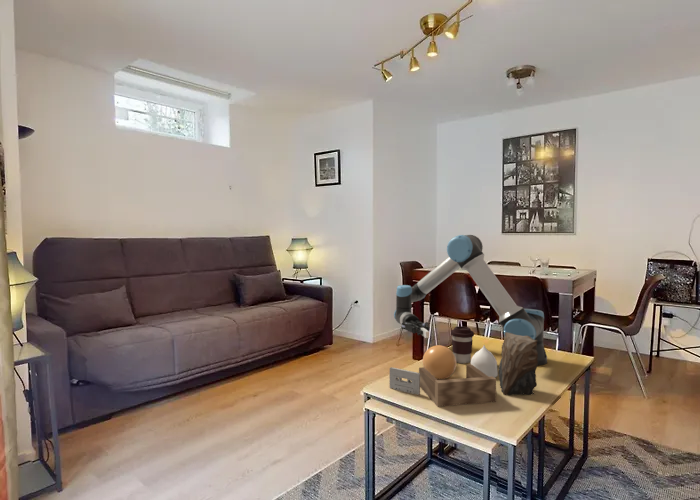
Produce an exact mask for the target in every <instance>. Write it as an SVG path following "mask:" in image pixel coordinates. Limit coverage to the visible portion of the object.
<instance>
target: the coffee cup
mask: <svg viewBox="0 0 700 500" xmlns="http://www.w3.org/2000/svg"><path fill="white" fill-rule="evenodd" d="M450 335H451V345H452V346H451V347H452V350H451V351H452V352H453V354H454V355H455V358H456V364H457V363H458V364H470V363H471V359H472V351H473V337H474V336H475V332H474V331H473V330H471V328H470V327H468V326H460V325H458V326H455V327H454V328H453V329H452V330H450Z"/></svg>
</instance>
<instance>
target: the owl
mask: <svg viewBox="0 0 700 500" xmlns="http://www.w3.org/2000/svg"><path fill="white" fill-rule="evenodd" d="M537 343H538V341H537V340H534V339H532V338H531V337H530V336H521V335H515V334H512V333H508V332H506V333H505V335H504V339H503V343H502V345H501V358H500V362H499V366H498V368H497V372H498V378H499V387H500V389H501V393H502V394H503V396H522V395H523V396H524V395H528V396H529V395H531V394H532V395H535V392H534V389H535V388H536V387H537V374H536V370H537V367H538V366H539V365H538V360H537V359H538V352H537ZM533 392H534V393H533Z"/></svg>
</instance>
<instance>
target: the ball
mask: <svg viewBox="0 0 700 500" xmlns="http://www.w3.org/2000/svg"><path fill="white" fill-rule="evenodd" d="M422 366H423V367H424V368H425V369H427V370H428V371H429V372H430V373H431V374H432V375H433V376H434V377H435V378H436V379H437V380H447V379H448V378H450V377H451V376H452V375H453V374H454V373H455V371H456V369H457V362H456V358H455V355H454V354H453V350H451V349H450V348H449V347H447V346H444V345H440V344H437V345H433V346H430V347H429V348H428V349H427V350H425V352H424V354H423V357H422Z"/></svg>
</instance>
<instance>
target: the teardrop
mask: <svg viewBox="0 0 700 500" xmlns="http://www.w3.org/2000/svg"><path fill="white" fill-rule="evenodd" d="M470 364H472V365H473V366H474V367H476V368H477V369H479V370H480V371H482V372H483V373H484V374H486V375H487V376H489V377H491V376H493V377H494V378H497V377H499V373H498V362H497V359H496V357H495V356H494V354H493V353H492V352H491V351H490V350H488V349H487V348H486V346H485V344H483V346H482V347H481V348H480V349H479V350H477V351H476V352H475V353H474V354H473V355H472V356H471V360H470Z"/></svg>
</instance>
